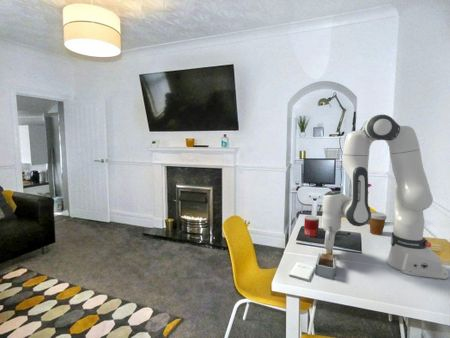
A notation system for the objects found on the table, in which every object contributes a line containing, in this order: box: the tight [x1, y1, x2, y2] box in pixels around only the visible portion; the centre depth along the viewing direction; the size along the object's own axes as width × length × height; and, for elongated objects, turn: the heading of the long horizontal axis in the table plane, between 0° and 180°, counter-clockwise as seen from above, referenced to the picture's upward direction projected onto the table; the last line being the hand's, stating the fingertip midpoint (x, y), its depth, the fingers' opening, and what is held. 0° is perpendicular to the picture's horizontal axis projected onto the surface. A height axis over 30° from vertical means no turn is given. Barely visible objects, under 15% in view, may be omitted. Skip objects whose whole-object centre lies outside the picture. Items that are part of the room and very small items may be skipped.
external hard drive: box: [288, 261, 316, 283], centre depth 114 cm, size 2×8×12 cm
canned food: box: [303, 214, 320, 238], centre depth 155 cm, size 8×8×11 cm
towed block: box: [320, 248, 335, 268], centre depth 123 cm, size 5×18×5 cm, turn 154°
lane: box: [314, 253, 338, 280], centre depth 115 cm, size 8×12×4 cm, turn 154°
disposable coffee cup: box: [369, 211, 388, 236], centre depth 158 cm, size 10×10×12 cm
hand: (329, 250), depth 130 cm, fingers closed on towed block, 3 cm apart
